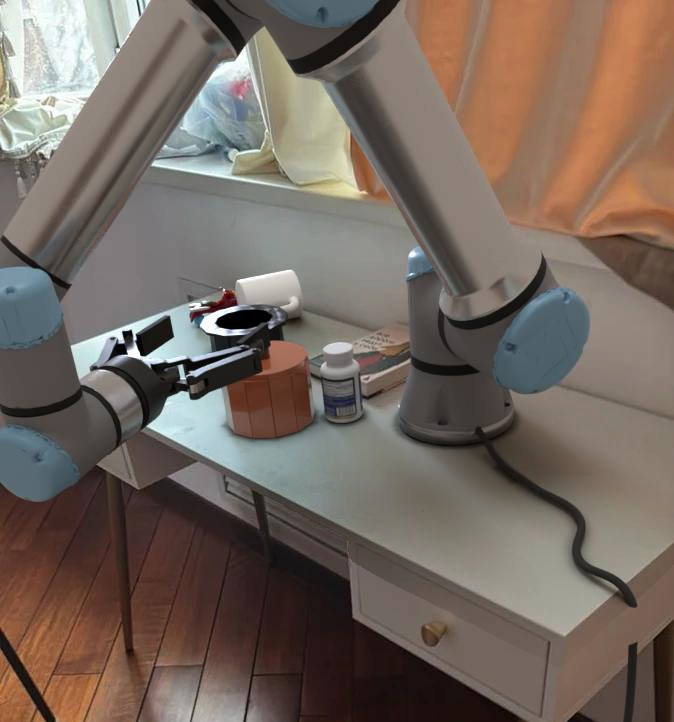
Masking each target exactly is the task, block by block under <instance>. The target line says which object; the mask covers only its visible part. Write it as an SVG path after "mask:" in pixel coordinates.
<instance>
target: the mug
mask: <svg viewBox="0 0 674 722" xmlns="http://www.w3.org/2000/svg"><path fill="white" fill-rule="evenodd" d="M234 290H235V291H234V292H235V296H236V300H237V305H238V306H240V305H255V304H265V305H271V306H277V307H281V308H282V309H283V310H285V311H286V312H287V313H288V318H287V320H290V319H295V318H299V317H301V316H302V315H303V312H304V311H303V310H304V299H303V298H304V297H303V292H302V288H301V284H300V281H299V278H298V276H297V274H296V273H295V271H294V270H293V269H288V270H281V271H277V272H271V273H265V274H262V275H256V276H250V277H246V278H242V279H237V280H236V281H235V285H234Z"/></svg>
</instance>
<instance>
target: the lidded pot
mask: <svg viewBox="0 0 674 722" xmlns="http://www.w3.org/2000/svg"><path fill="white" fill-rule="evenodd" d="M270 343H271V346H270V347H268V348H267V349H266V350H265V351H264V353H263V354H262V355H261V360H262V368H263V372H261V373H259V374H256V375H254V376H251V377H248V378H246V379H243V380H241V381H238V382H235V383H233V384H230V385H228V386H225V387H222V388H221V393H222V400H223V405H224V409H225V410H224V411H225V416H226V421H227V426H228V427H229V428H230V429H231V430H232V433H234V434H235V435H238V436H242V437H245V438H250V439H276V438H281V437H284V436H286V435H287V436H288V435H291V434H295V433H298V432H300V431H301V430H303V429H305V428H306V427H307V426H309V425H310V424H311V423H313V420H314V417H315V413H316V412H315V402H314V401H315V400H314V393H313V383H312V375H311V364H310V357H309V355H308V352H307V349H306V348H305V347H304V346H303V345H301V344H298V343H297V342H296V343H295V342H293V341H286V340H284V341H270Z"/></svg>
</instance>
